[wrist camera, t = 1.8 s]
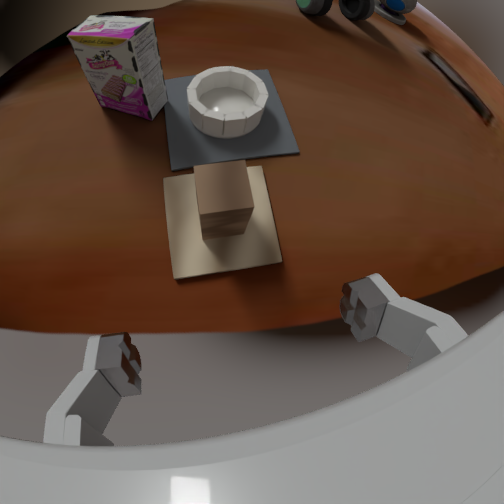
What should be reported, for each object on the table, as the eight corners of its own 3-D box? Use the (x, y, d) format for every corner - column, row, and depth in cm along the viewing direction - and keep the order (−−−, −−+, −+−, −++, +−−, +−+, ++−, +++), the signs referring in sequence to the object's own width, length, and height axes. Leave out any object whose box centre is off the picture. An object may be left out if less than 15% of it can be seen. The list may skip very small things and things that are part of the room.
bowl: (193, 144, 37) (192, 125, 33) (185, 90, 39) (184, 71, 35) (270, 134, 39) (276, 115, 35) (252, 83, 41) (256, 64, 37)
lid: (175, 279, 34) (160, 265, 24) (164, 182, 36) (151, 139, 26) (280, 263, 36) (305, 242, 26) (260, 170, 38) (275, 125, 28)
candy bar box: (98, 108, 37) (64, 35, 21) (116, 87, 38) (90, 14, 22) (152, 123, 37) (128, 38, 21) (170, 100, 38) (155, 16, 22)
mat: (171, 171, 36) (171, 170, 36) (162, 82, 39) (162, 80, 39) (298, 153, 39) (299, 151, 39) (267, 71, 43) (267, 69, 42)
